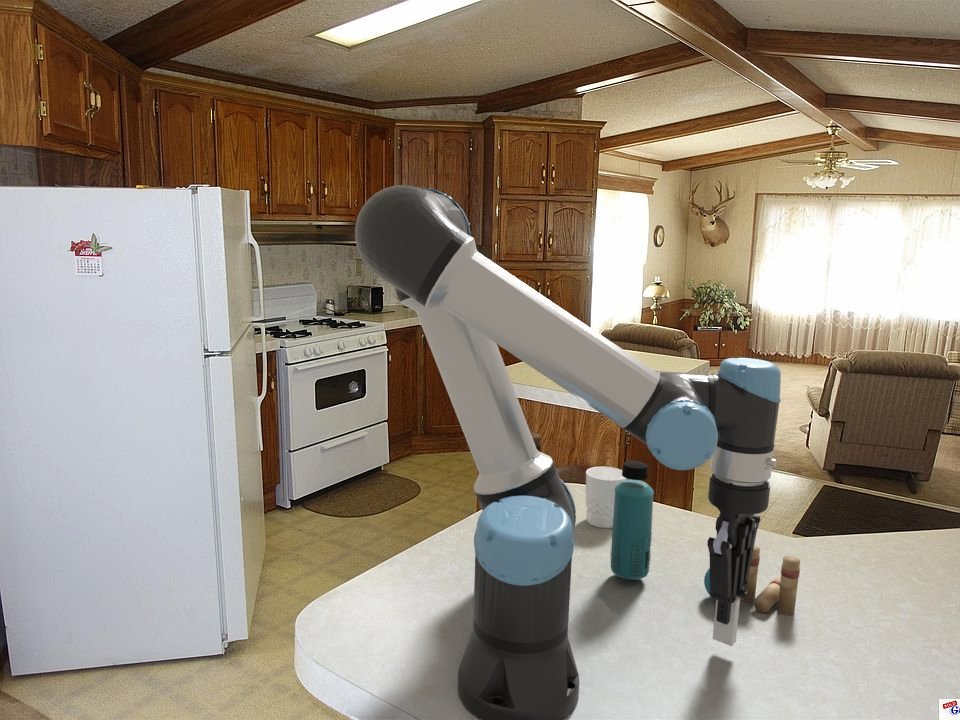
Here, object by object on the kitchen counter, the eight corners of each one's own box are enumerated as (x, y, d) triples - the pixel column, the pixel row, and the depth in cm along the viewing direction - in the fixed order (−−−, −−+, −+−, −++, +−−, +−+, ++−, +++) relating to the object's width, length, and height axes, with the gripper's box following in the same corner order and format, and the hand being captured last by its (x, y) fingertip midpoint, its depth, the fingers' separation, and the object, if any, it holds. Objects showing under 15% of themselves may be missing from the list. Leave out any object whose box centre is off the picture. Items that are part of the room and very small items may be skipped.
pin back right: (785, 616, 111) (791, 564, 109) (773, 608, 113) (778, 556, 112) (798, 613, 112) (804, 561, 110) (786, 605, 114) (792, 554, 113)
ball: (745, 612, 113) (741, 586, 110) (705, 609, 115) (700, 583, 112) (747, 581, 117) (743, 555, 114) (708, 579, 120) (703, 553, 117)
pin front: (766, 596, 111) (786, 576, 117) (750, 597, 113) (770, 577, 119) (771, 612, 111) (791, 591, 117) (755, 613, 112) (776, 593, 119)
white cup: (614, 533, 139) (617, 483, 137) (576, 523, 143) (579, 474, 141) (630, 519, 146) (633, 471, 144) (593, 510, 150) (596, 463, 148)
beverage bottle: (649, 590, 118) (658, 471, 114) (607, 585, 119) (614, 467, 115) (648, 572, 124) (657, 458, 120) (608, 567, 125) (615, 455, 121)
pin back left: (745, 602, 115) (751, 551, 113) (734, 594, 117) (739, 545, 115) (758, 600, 116) (764, 549, 114) (747, 592, 118) (752, 542, 116)
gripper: (751, 497, 89) (733, 673, 93) (785, 471, 99) (767, 630, 103) (692, 482, 94) (678, 650, 98) (730, 458, 104) (716, 612, 108)
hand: (724, 640), depth 101 cm, fingers closed
